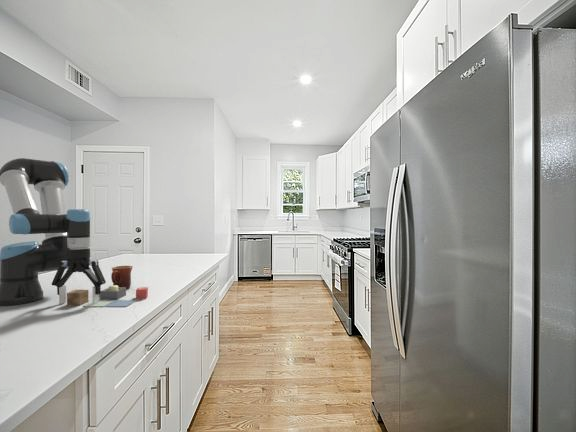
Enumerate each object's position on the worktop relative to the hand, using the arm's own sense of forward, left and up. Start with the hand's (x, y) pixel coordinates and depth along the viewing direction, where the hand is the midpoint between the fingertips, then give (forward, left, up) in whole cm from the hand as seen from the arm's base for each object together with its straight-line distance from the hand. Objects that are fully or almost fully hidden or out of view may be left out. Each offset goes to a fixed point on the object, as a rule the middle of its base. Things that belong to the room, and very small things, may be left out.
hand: (79, 302), depth 119 cm
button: (+8, +9, 0) cm, 12 cm away
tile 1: (+8, 0, 0) cm, 8 cm away
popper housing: (+8, +9, 0) cm, 12 cm away
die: (+20, +9, 0) cm, 22 cm away
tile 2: (+16, 0, 0) cm, 16 cm away
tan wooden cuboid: (-1, 0, 0) cm, 1 cm away
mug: (+4, +22, -1) cm, 23 cm away
